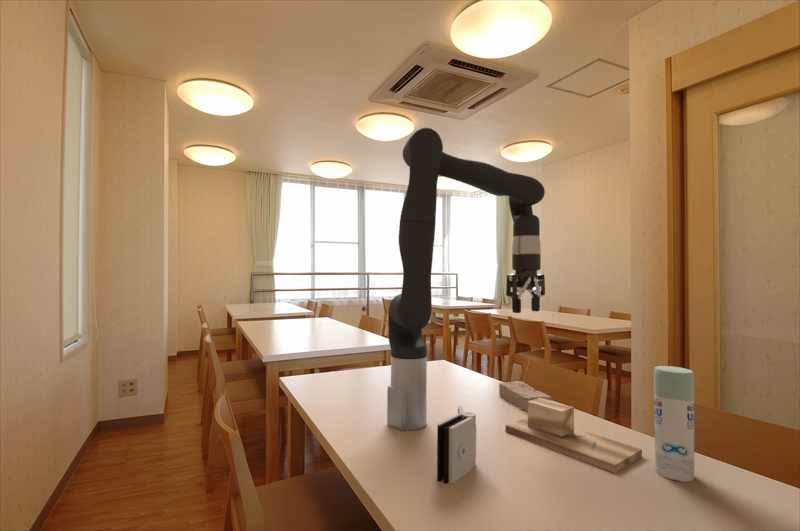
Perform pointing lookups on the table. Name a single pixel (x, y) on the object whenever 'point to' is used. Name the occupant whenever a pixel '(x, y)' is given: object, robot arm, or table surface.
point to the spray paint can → (674, 422)
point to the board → (581, 446)
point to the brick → (520, 393)
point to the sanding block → (551, 417)
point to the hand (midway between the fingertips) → (526, 312)
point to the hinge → (456, 446)
